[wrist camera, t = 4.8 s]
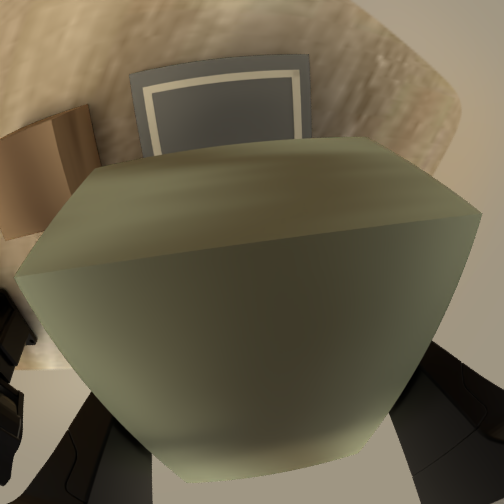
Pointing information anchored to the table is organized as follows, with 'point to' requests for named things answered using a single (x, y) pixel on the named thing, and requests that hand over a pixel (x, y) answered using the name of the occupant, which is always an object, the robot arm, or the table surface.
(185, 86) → the plinth
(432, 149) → the table surface
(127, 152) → the table surface
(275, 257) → the sage block
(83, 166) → the walnut cube
